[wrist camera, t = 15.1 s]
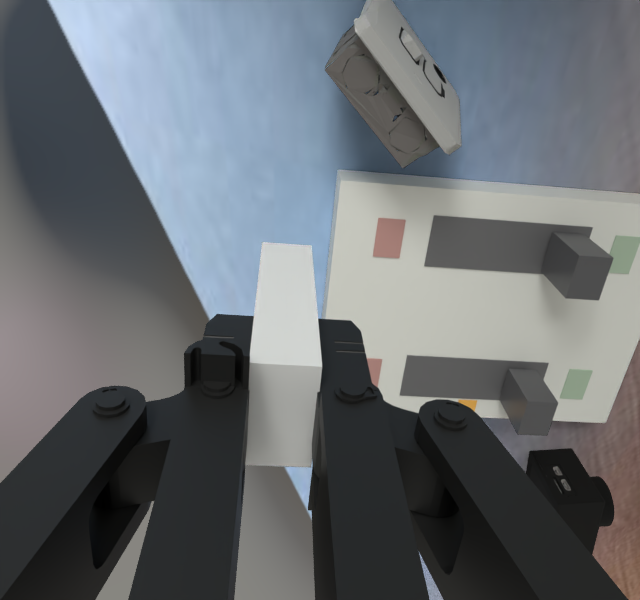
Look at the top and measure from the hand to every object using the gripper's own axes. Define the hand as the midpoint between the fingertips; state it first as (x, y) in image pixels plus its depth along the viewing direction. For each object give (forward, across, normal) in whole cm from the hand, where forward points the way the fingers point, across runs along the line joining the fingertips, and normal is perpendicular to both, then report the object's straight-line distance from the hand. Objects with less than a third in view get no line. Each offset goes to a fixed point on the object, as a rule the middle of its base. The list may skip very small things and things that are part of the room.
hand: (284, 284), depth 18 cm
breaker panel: (+26, +17, -13) cm, 34 cm away
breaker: (+23, +21, -7) cm, 32 cm away
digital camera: (+27, +29, -34) cm, 52 cm away
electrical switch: (+27, +7, +4) cm, 28 cm away
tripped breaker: (+23, +21, -19) cm, 36 cm away
